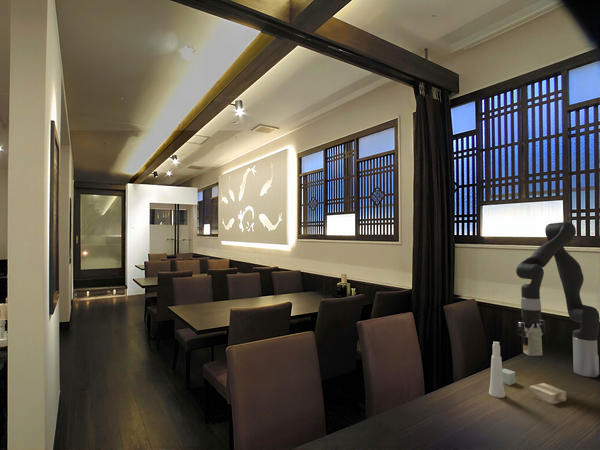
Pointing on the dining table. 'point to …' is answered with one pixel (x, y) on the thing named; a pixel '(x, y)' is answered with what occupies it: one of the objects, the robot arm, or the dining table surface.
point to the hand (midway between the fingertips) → (532, 344)
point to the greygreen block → (508, 376)
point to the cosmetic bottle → (496, 373)
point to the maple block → (547, 393)
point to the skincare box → (533, 342)
